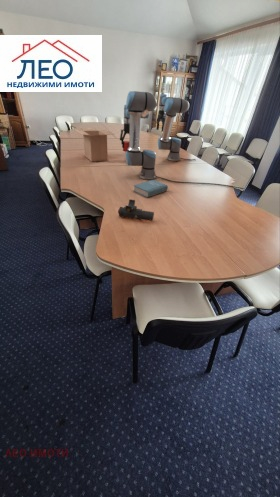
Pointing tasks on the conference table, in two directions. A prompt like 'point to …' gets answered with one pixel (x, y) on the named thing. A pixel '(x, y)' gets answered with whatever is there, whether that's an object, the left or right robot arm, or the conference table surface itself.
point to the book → (150, 188)
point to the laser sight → (135, 212)
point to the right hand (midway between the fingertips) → (160, 130)
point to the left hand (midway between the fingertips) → (127, 147)
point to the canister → (126, 145)
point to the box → (95, 143)
